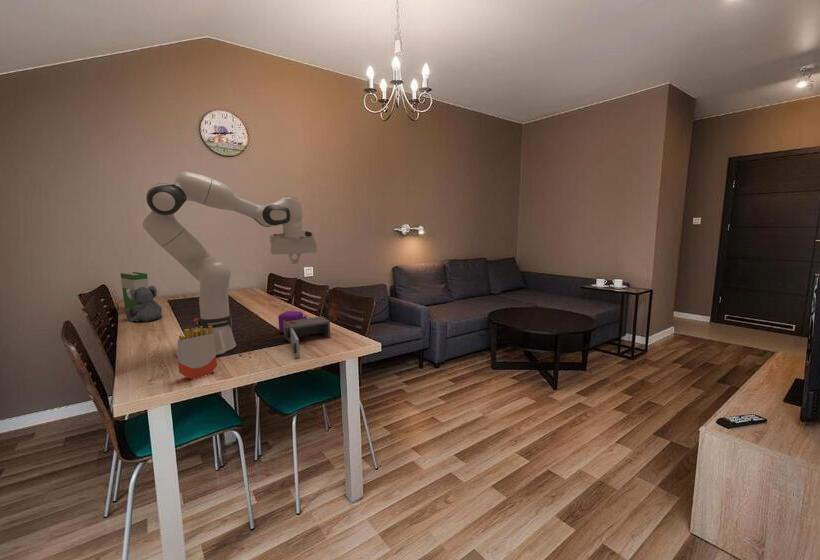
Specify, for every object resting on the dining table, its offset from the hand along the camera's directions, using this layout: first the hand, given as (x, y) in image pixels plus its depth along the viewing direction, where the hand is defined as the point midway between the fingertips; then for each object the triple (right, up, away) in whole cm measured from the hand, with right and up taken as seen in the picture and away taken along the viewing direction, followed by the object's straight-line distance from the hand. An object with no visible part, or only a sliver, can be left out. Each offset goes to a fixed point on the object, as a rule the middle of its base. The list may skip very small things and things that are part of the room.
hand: (295, 263), depth 169 cm
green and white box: (-117, -28, +60) cm, 134 cm away
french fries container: (-22, -42, -38) cm, 61 cm away
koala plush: (-97, -30, +41) cm, 110 cm away
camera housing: (+5, -35, +4) cm, 35 cm away
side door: (+4, -38, -15) cm, 40 cm away
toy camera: (-5, -34, +15) cm, 37 cm away
